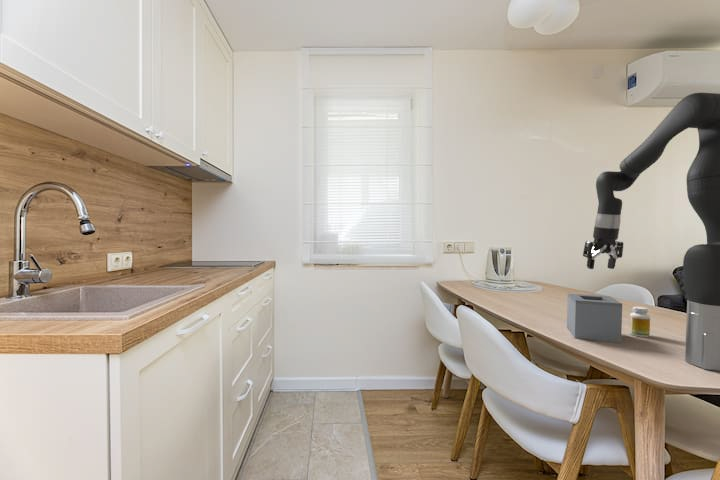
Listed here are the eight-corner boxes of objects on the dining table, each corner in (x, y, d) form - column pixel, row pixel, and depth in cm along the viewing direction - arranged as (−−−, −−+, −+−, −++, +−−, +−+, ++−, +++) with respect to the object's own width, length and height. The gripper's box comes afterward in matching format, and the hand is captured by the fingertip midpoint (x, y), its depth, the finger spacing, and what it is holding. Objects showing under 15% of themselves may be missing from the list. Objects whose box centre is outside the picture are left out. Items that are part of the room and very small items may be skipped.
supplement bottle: (653, 338, 114) (654, 310, 114) (635, 337, 115) (636, 309, 115) (643, 333, 119) (644, 306, 119) (626, 332, 120) (627, 305, 120)
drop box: (621, 342, 109) (622, 303, 108) (574, 338, 114) (575, 300, 113) (608, 331, 121) (609, 296, 120) (566, 327, 126) (567, 293, 125)
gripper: (597, 227, 119) (591, 271, 122) (633, 227, 121) (626, 270, 123) (581, 224, 126) (575, 266, 129) (615, 225, 128) (608, 265, 131)
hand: (600, 268), depth 126 cm, fingers open, 8 cm apart
